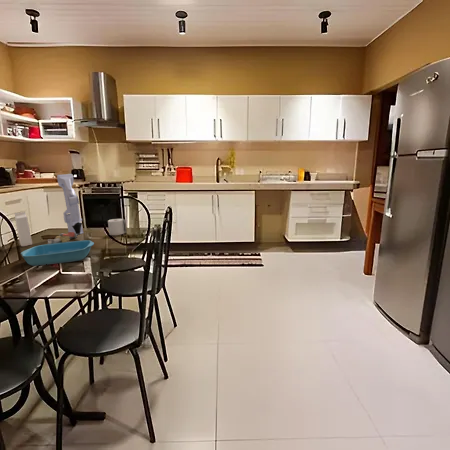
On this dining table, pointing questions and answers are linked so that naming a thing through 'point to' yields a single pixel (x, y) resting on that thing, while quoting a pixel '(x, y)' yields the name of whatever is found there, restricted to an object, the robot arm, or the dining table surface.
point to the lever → (68, 234)
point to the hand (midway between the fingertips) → (78, 233)
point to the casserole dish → (57, 252)
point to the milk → (23, 229)
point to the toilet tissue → (117, 226)
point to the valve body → (61, 239)
